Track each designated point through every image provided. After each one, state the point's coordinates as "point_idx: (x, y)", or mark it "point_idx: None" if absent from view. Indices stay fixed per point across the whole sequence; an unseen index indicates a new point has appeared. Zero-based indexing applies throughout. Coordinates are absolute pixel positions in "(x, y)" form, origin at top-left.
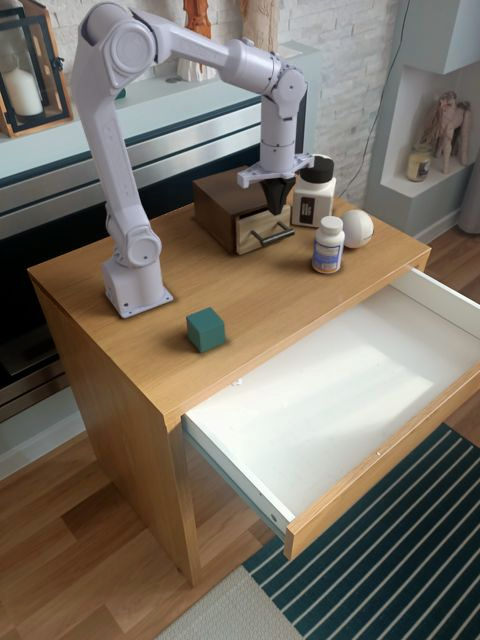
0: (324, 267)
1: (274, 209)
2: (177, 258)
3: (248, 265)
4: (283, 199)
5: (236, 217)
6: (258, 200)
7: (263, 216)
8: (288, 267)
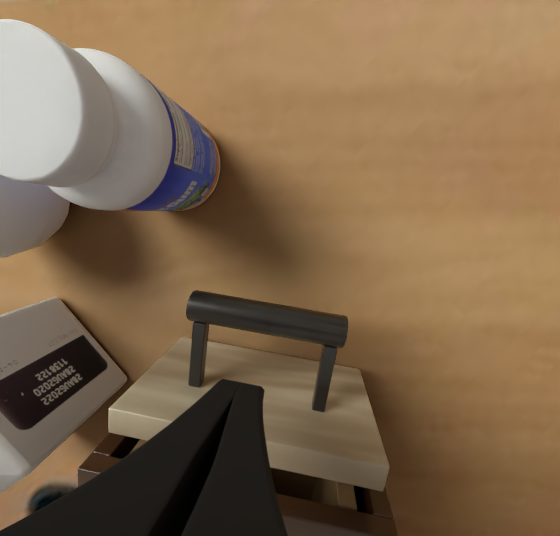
0: (204, 128)
1: (261, 422)
2: (489, 473)
3: (361, 322)
4: (171, 453)
5: (353, 507)
6: None
7: None
8: (275, 237)
